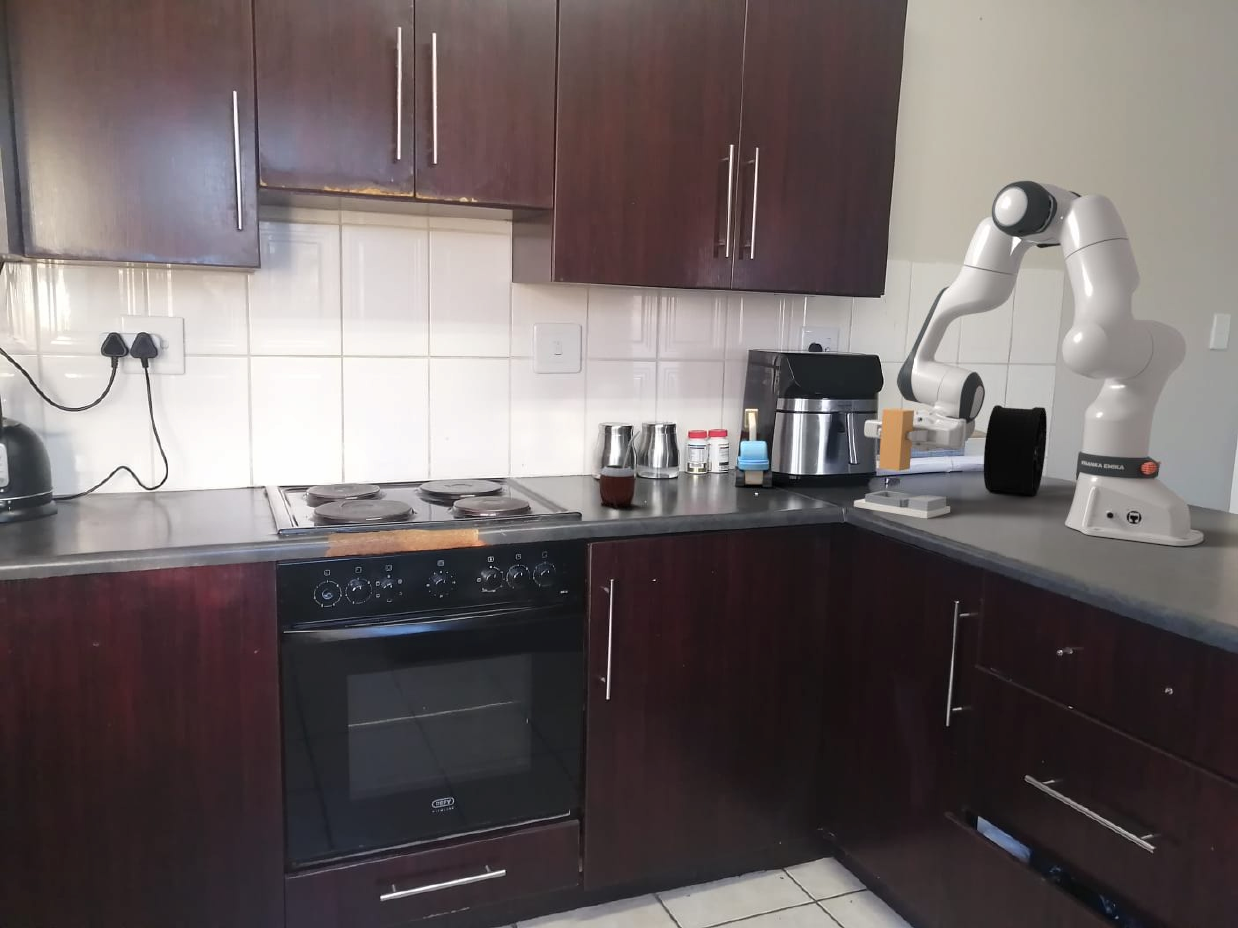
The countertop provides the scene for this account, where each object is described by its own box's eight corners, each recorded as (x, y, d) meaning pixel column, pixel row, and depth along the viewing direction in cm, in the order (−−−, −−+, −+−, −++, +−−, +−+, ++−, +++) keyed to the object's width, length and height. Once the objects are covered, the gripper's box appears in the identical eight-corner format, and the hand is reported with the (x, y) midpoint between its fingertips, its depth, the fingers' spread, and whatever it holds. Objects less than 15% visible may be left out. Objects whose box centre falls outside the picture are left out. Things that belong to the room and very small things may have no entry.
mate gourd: (596, 508, 183) (598, 433, 181) (602, 501, 191) (603, 429, 188) (634, 510, 182) (636, 434, 180) (638, 503, 190) (640, 430, 188)
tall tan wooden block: (909, 468, 190) (914, 410, 188) (898, 470, 187) (903, 411, 185) (889, 466, 193) (893, 408, 191) (878, 468, 190) (882, 409, 188)
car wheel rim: (1029, 501, 203) (1037, 410, 200) (980, 496, 208) (987, 407, 206) (1041, 489, 220) (1049, 405, 217) (996, 485, 225) (1003, 402, 222)
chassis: (949, 512, 187) (951, 496, 187) (926, 518, 180) (927, 502, 180) (878, 501, 199) (879, 486, 198) (853, 506, 191) (854, 491, 191)
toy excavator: (768, 478, 227) (771, 408, 225) (772, 489, 211) (776, 414, 208) (732, 477, 228) (735, 407, 226) (734, 488, 212) (737, 413, 209)
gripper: (883, 411, 205) (850, 414, 195) (973, 419, 191) (942, 423, 181) (881, 440, 206) (848, 444, 196) (971, 450, 191) (940, 455, 182)
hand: (894, 434), depth 188 cm, fingers closed on tall tan wooden block, 4 cm apart
